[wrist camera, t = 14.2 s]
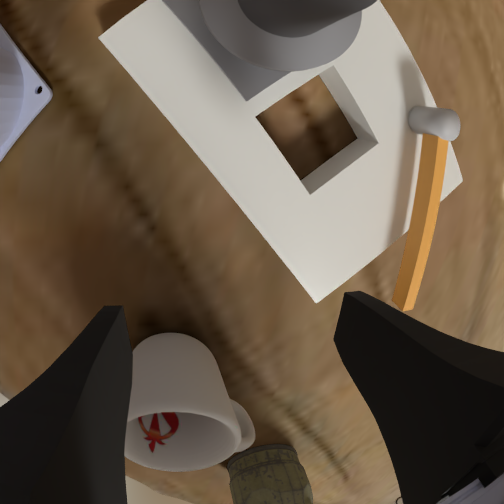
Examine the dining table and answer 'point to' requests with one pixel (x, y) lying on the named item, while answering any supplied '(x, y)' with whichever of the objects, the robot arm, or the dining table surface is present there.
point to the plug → (284, 30)
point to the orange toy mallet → (425, 196)
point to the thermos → (269, 476)
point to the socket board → (266, 152)
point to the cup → (181, 407)
